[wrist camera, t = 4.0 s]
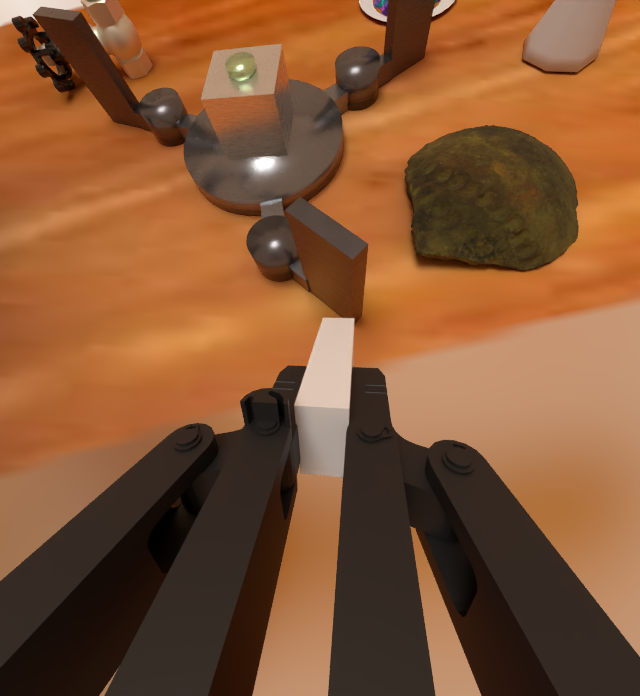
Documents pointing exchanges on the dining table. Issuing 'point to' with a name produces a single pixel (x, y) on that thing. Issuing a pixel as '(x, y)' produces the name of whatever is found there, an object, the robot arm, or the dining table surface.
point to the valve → (110, 32)
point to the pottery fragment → (491, 199)
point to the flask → (568, 35)
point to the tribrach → (251, 109)
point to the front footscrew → (312, 256)
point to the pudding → (382, 4)
